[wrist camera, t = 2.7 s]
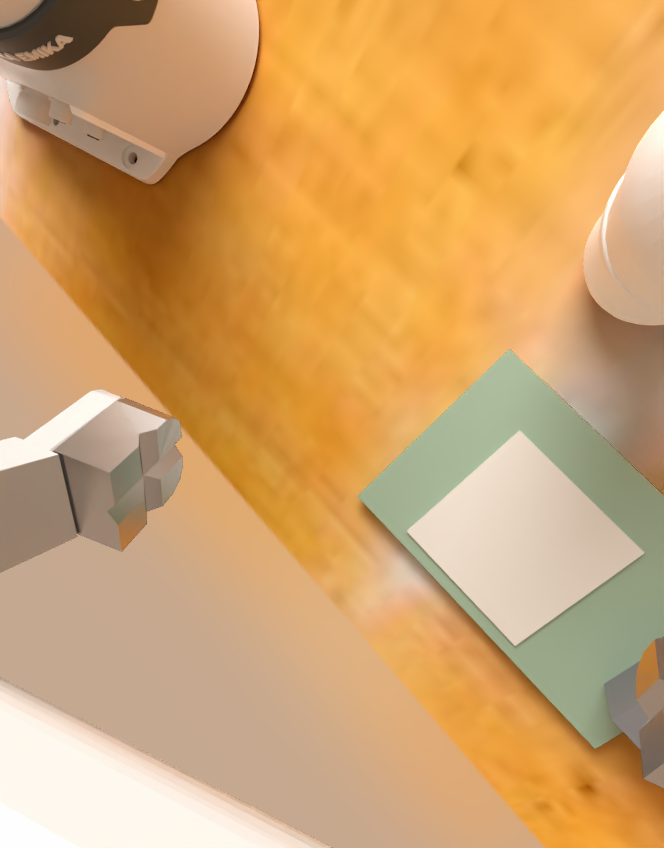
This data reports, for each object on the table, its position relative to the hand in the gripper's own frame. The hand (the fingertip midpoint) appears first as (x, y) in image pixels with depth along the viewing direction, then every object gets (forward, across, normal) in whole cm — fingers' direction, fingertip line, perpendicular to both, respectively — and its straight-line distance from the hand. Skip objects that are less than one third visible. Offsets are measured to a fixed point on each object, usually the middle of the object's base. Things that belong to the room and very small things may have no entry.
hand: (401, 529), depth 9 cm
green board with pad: (+21, -11, +20) cm, 31 cm away
